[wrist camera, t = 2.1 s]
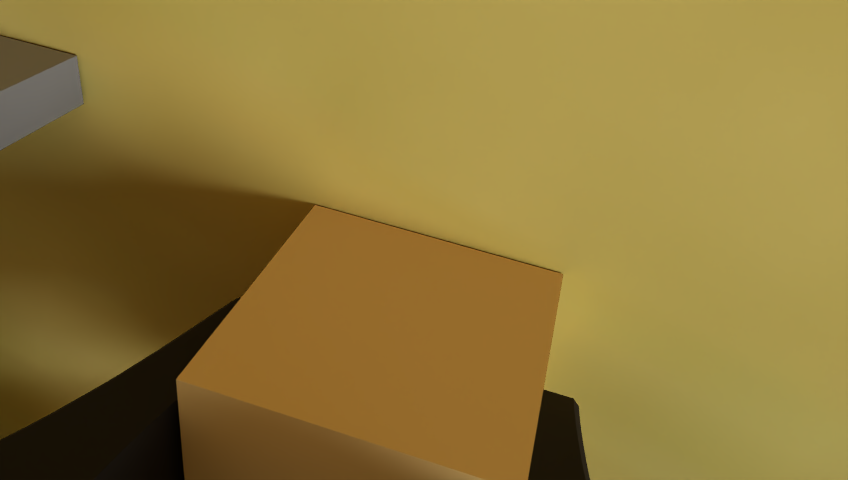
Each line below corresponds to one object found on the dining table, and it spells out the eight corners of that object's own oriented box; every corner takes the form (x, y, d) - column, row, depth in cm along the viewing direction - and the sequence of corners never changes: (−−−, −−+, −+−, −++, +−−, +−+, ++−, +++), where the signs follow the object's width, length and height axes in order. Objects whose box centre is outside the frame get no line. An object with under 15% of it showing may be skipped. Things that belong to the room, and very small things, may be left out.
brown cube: (506, 443, 13) (458, 667, 9) (303, 379, 13) (192, 570, 10) (563, 273, 10) (525, 492, 7) (315, 204, 11) (175, 379, 8)
